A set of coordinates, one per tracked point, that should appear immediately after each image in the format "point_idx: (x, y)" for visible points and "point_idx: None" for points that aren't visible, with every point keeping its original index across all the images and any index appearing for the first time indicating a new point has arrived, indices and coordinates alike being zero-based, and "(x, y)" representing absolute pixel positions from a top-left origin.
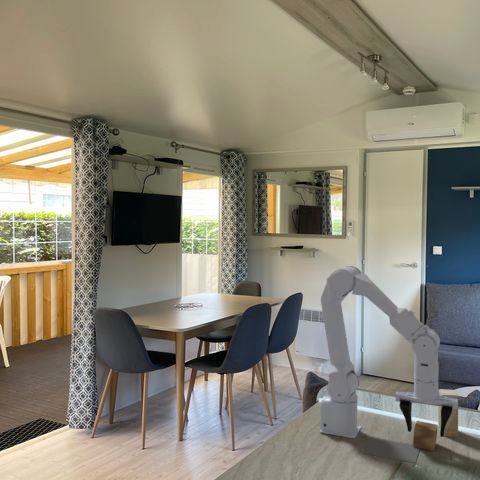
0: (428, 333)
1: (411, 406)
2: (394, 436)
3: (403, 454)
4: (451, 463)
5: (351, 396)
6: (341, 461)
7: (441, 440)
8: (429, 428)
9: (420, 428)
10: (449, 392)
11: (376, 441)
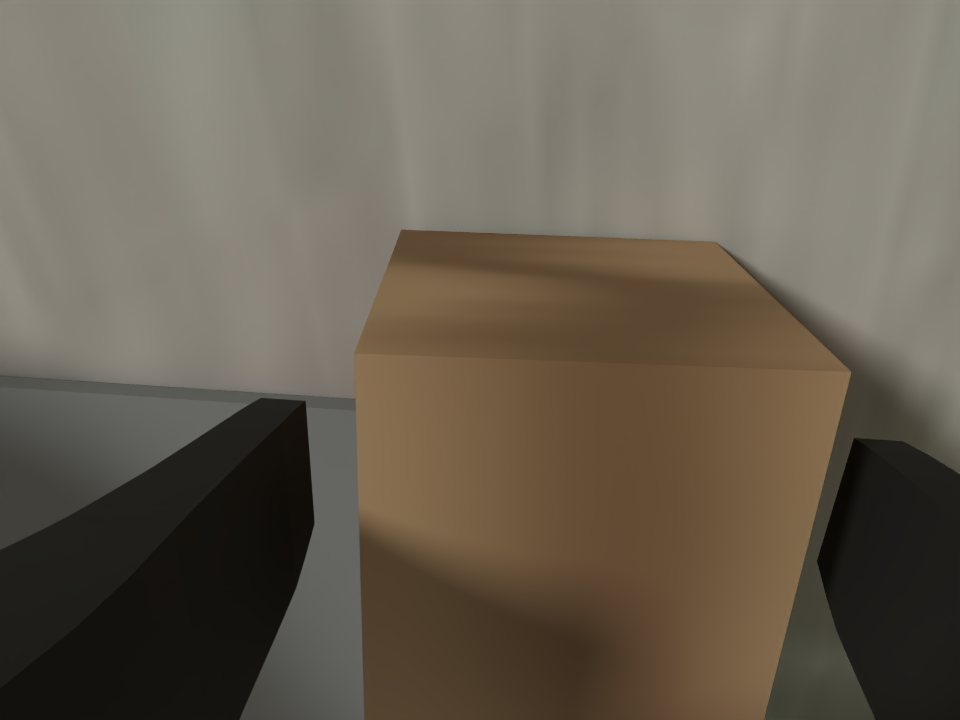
0: None
1: (28, 717)
2: (73, 156)
3: (336, 675)
4: (841, 673)
5: None
6: None
7: (829, 26)
8: (646, 673)
9: (478, 713)
10: None
11: None
